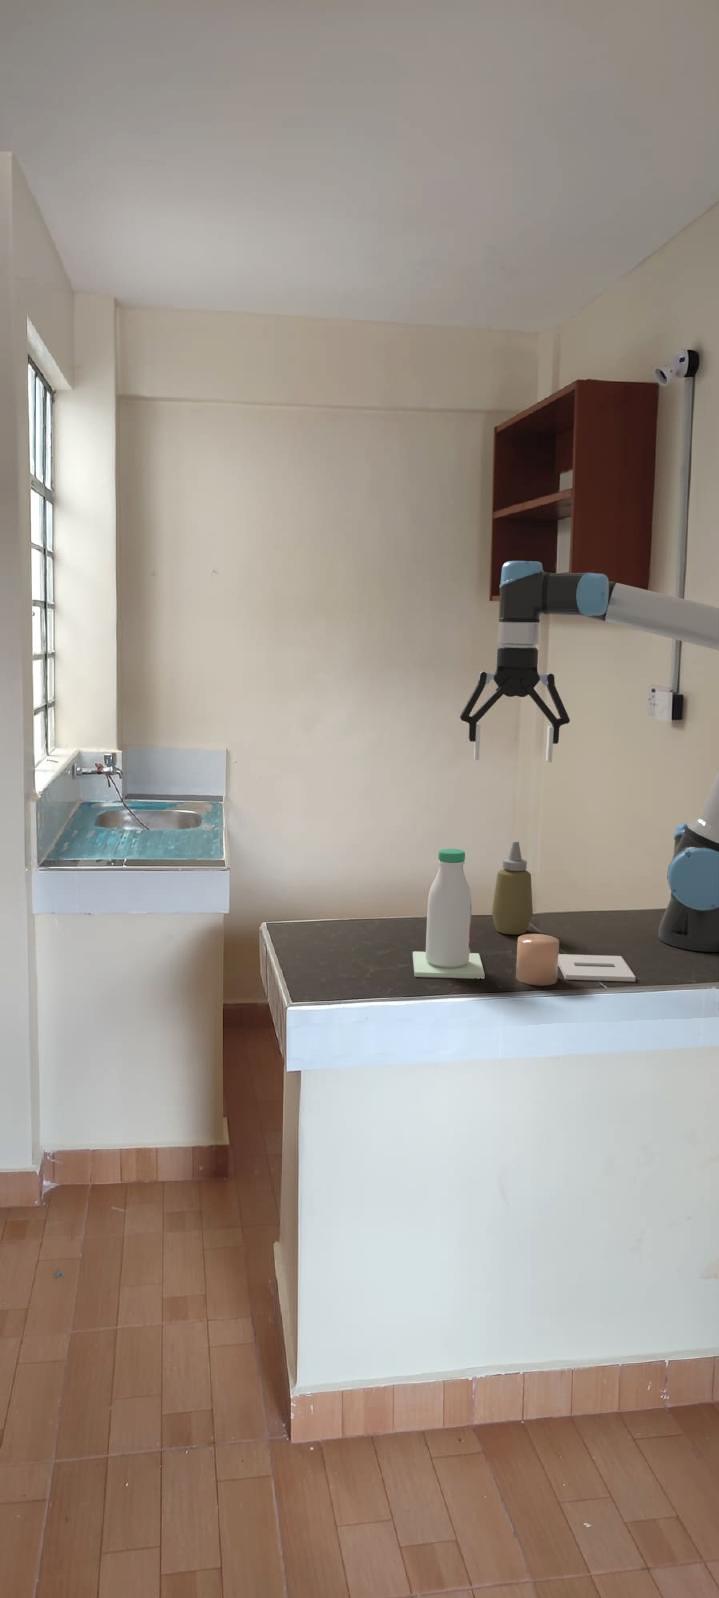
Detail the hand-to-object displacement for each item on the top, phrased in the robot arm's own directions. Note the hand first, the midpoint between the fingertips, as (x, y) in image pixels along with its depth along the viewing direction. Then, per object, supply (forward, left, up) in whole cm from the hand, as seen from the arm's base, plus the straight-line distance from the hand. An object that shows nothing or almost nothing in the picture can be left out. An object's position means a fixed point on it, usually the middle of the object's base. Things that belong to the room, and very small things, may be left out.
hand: (512, 760), depth 213 cm
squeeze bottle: (-2, -5, -35) cm, 35 cm away
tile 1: (+12, +19, -35) cm, 41 cm away
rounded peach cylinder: (-3, +24, -35) cm, 42 cm away
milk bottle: (+12, +19, -34) cm, 41 cm away
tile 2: (-14, +18, -35) cm, 41 cm away
